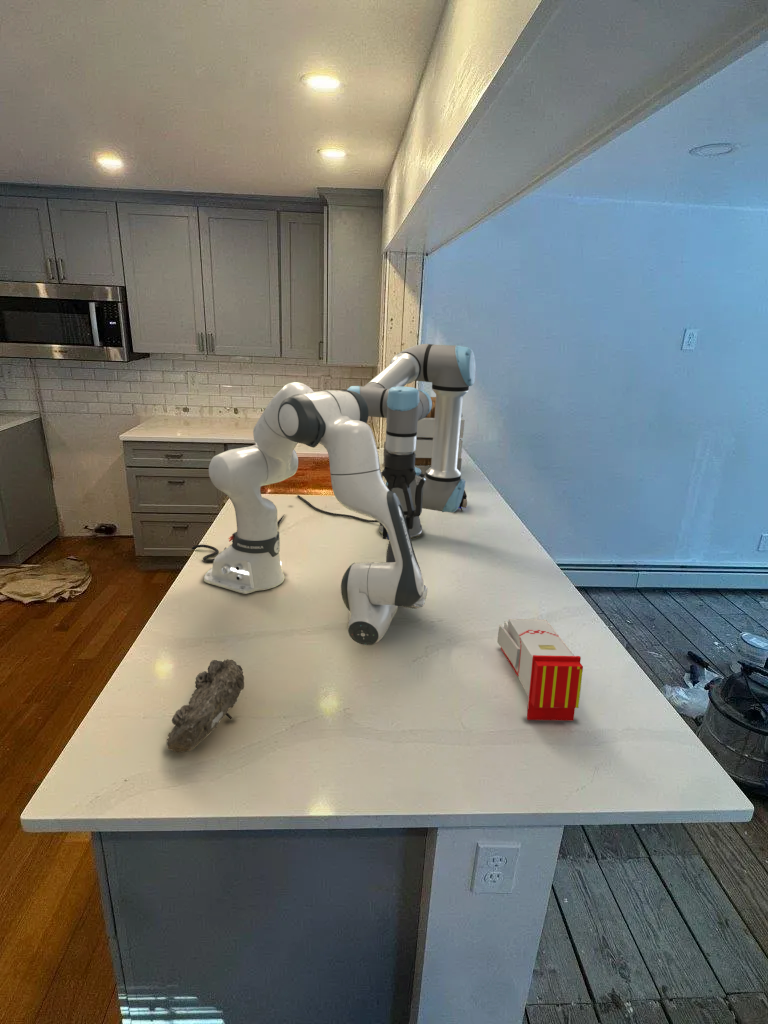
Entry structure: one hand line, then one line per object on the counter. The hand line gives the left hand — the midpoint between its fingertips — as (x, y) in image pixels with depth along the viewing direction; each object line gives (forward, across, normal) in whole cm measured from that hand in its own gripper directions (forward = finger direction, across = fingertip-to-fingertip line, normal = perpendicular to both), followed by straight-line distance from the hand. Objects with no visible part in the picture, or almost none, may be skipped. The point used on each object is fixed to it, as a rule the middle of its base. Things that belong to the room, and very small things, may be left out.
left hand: (394, 577), depth 152 cm
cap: (-1, 0, -14) cm, 14 cm away
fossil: (-56, +22, +7) cm, 61 cm away
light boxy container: (+127, +18, +7) cm, 129 cm away
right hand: (-1, 0, -12) cm, 12 cm away
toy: (-25, -37, +7) cm, 45 cm away
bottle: (-1, 0, +7) cm, 7 cm away
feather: (+47, +53, +7) cm, 71 cm away
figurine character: (+83, -6, +7) cm, 84 cm away
